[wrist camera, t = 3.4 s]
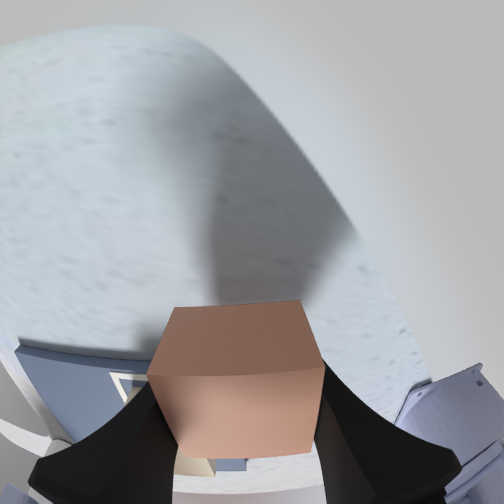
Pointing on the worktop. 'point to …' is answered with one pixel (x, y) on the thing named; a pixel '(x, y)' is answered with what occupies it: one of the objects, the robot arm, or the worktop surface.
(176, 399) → the terracotta block
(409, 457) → the robot arm
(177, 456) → the cream block
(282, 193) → the worktop surface
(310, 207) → the worktop surface
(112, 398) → the board
